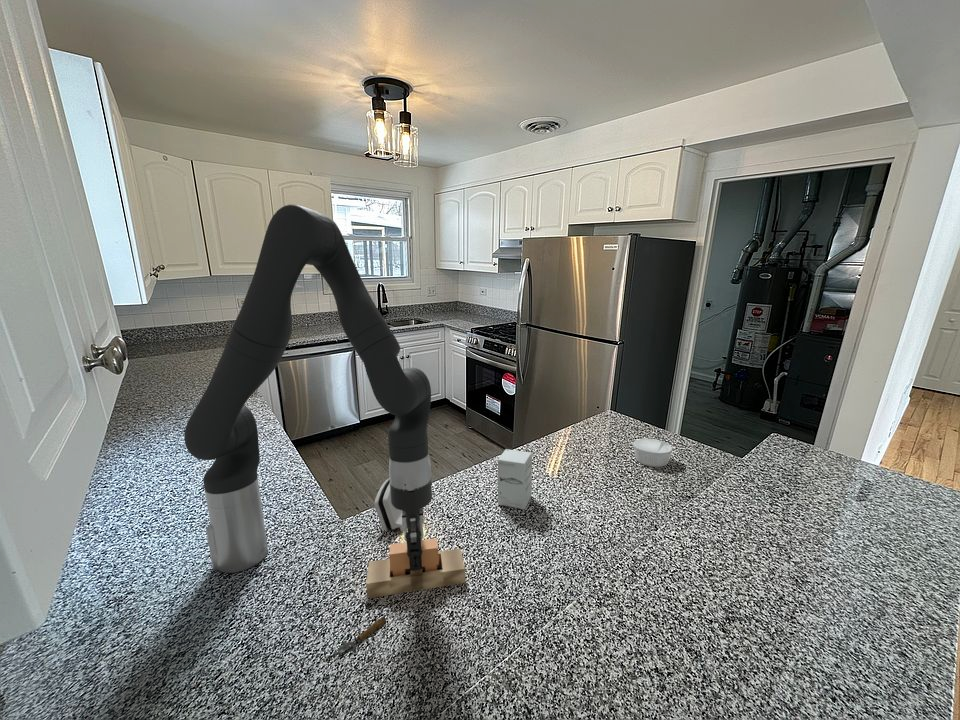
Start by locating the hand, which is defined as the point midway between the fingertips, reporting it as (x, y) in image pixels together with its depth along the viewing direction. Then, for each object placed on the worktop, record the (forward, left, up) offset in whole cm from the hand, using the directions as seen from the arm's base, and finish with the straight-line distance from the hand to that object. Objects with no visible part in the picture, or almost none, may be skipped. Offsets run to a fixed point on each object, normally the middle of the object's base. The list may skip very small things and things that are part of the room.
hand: (415, 560), depth 75 cm
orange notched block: (0, 0, -4) cm, 4 cm away
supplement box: (+26, +23, -4) cm, 35 cm away
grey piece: (-3, +24, -4) cm, 25 cm away
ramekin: (+74, +36, -4) cm, 82 cm away
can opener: (-9, -11, -5) cm, 15 cm away
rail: (0, 0, -4) cm, 4 cm away
